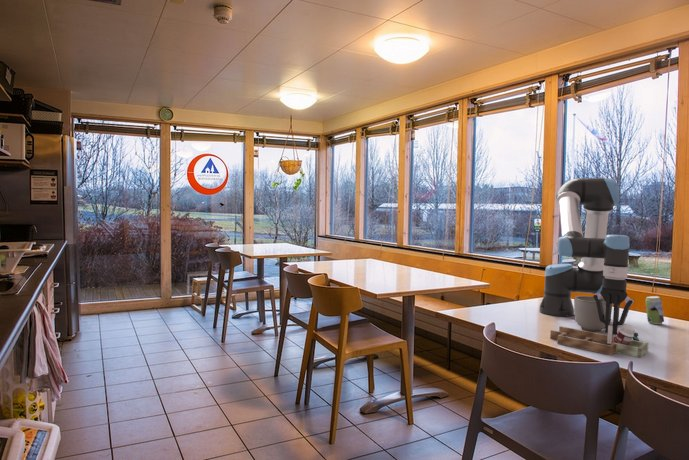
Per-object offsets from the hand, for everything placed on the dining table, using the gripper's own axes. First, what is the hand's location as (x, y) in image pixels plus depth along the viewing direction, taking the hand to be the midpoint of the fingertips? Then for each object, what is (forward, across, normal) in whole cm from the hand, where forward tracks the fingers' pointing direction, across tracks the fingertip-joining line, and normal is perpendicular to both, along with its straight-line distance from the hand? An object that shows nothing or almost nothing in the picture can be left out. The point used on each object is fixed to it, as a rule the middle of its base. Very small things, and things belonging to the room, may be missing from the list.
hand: (610, 342), depth 170 cm
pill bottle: (+1, +3, 0) cm, 3 cm away
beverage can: (+1, +2, +56) cm, 56 cm away
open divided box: (+2, -4, -2) cm, 5 cm away
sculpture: (+2, +5, +15) cm, 16 cm away
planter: (+2, -12, +21) cm, 24 cm away
